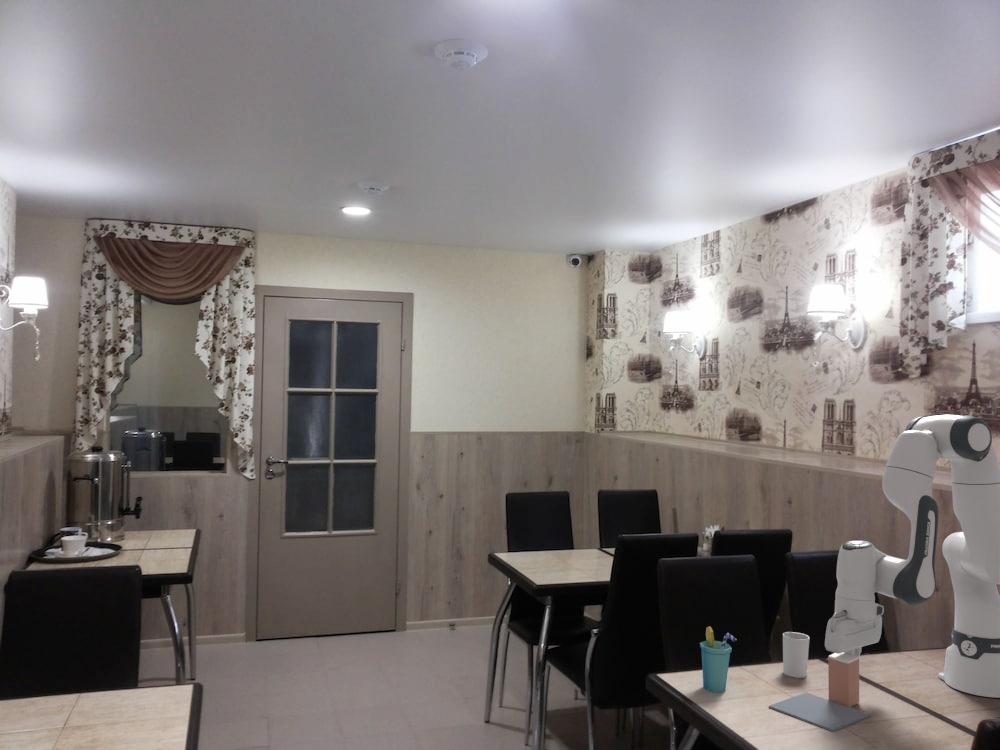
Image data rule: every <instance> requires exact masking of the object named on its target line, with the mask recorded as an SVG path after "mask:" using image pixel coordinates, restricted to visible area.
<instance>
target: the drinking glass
mask: <svg viewBox="0 0 1000 750" xmlns="http://www.w3.org/2000/svg"><path fill="white" fill-rule="evenodd" d="M809 648H810V636H809V635H808V634H805V633H801V632H796V631H795V632H793V631H786V632H783V633H782V667H783V668H782V673H783V674H784V675H786V676H788V677H793V678H797V679H798V678H799V679H801V678H802V679H803V678H805V677H807V674H808V672H807V671H808V661H809V650H810V649H809Z"/></svg>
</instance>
